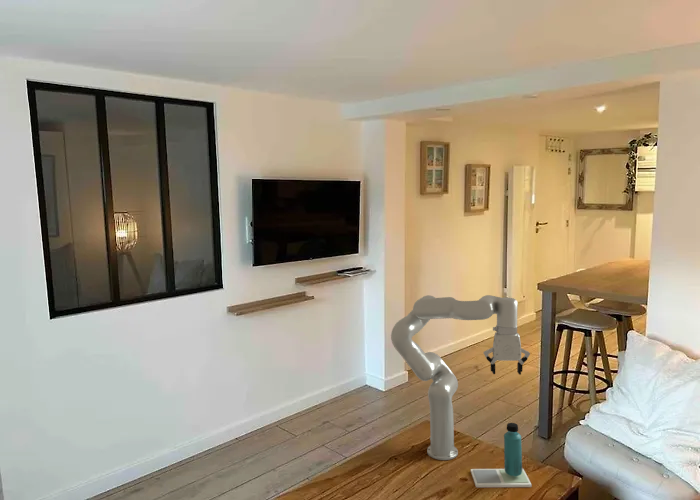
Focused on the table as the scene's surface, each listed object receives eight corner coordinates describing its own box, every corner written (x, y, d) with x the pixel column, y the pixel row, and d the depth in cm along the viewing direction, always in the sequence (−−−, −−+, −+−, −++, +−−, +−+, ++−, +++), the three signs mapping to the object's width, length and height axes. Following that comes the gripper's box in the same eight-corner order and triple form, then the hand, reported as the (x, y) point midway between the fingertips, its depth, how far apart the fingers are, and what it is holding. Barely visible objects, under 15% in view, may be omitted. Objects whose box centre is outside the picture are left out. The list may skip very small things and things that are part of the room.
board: (476, 487, 190) (476, 484, 190) (470, 471, 201) (470, 468, 201) (531, 487, 189) (531, 483, 189) (523, 471, 200) (523, 467, 200)
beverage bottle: (523, 480, 191) (523, 428, 189) (504, 479, 192) (504, 427, 190) (521, 471, 197) (520, 420, 195) (503, 470, 198) (502, 420, 196)
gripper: (485, 332, 196) (485, 376, 198) (532, 332, 194) (531, 377, 196) (482, 327, 203) (482, 369, 205) (527, 327, 202) (527, 370, 203)
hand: (506, 373), depth 201 cm, fingers open, 9 cm apart
